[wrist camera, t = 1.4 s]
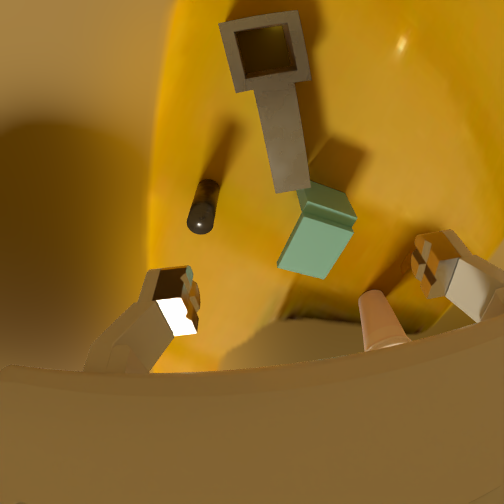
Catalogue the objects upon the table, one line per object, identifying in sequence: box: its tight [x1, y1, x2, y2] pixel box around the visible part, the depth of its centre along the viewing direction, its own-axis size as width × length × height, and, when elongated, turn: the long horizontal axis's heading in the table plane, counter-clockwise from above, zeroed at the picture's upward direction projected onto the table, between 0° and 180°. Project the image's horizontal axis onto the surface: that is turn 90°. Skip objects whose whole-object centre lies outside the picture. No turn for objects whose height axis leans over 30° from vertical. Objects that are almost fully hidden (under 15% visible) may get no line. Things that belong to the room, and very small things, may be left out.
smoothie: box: [359, 290, 411, 352], centre depth 35 cm, size 6×6×14 cm
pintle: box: [187, 179, 219, 234], centre depth 28 cm, size 2×2×6 cm
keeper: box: [277, 181, 357, 279], centre depth 30 cm, size 5×7×5 cm
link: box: [218, 10, 312, 193], centre depth 23 cm, size 15×6×4 cm, turn 12°
